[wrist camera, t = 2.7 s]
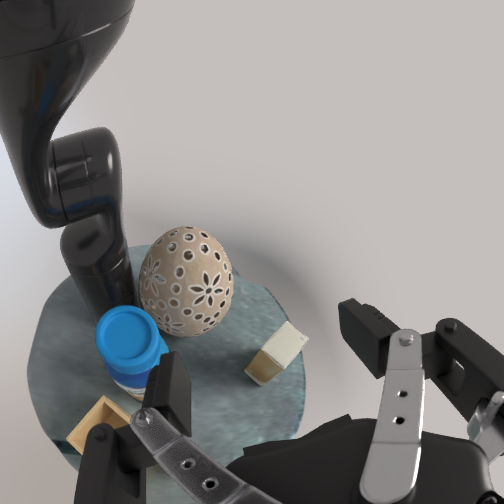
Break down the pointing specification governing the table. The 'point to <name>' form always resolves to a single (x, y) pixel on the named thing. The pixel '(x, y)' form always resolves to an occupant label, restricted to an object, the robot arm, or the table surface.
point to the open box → (98, 421)
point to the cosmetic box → (276, 353)
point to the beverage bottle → (129, 347)
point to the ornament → (186, 282)
